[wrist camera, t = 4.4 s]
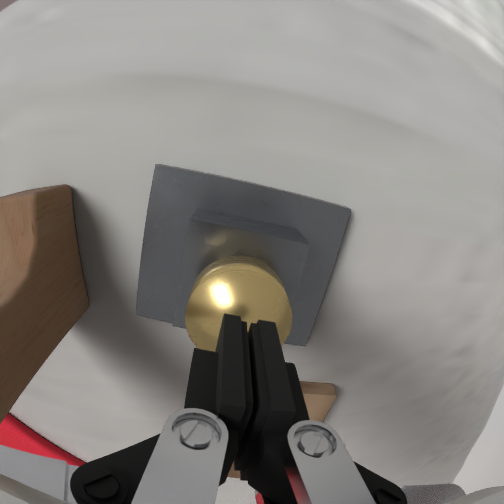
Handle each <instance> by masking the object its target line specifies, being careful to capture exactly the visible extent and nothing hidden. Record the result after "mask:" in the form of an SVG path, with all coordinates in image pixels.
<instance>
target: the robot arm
mask: <svg viewBox="0 0 504 504" xmlns="http://www.w3.org/2000/svg"><path fill="white" fill-rule="evenodd" d="M233 462H234V470H235V471H240V480H245V481H248V484H249V485H250V486H251V487H253V488H254V489H255V498H256V502H257V504H504V486H499V487H491V488H486V489H483V490H479V491H476V492H473V493H470V494H468V495H466V494H465V492H464V491H463V490H462V488H461V487H459V486H457V485H455V484H438V485H414V486H404V487H402V488H400V487H398V486H397V485H395V484H394V483H392V482H390V481H388V480H386V479H384V478H382V477H381V476H379V475H377V474H375V473H373V472H372V471H370V470H368V469H366V468H364V467H363V466H361V465H359V464H358V463H356V462H354V461H353V460H352V458H351V456H350V454H349V452H348V451H347V449H346V447H345V445H344V443H343V441H342V439H341V437H340V436H339V435H338V433H337V432H336V431H335V430H334V429H333V428H331V427H330V426H328V425H326V424H324V423H322V422H318V421H315V420H310V419H309V415H308V411H307V407H306V404H305V400H304V396H303V393H302V389H301V385H300V382H299V378H298V374H297V371H296V367H295V365H294V364H293V363H287V362H285V360H284V356H283V352H282V348H281V343H280V339H279V335H278V331H277V326H276V323H275V322H271V321H265V320H258V321H257V323H251V324H250V327H249V331H248V330H247V322H245V321H241V316H236V315H231V314H226V313H224V315H223V319H222V323H221V328H220V332H219V337H218V341H217V346H216V350H215V352H214V351H208V350H203V349H198V348H194V352H193V358H192V363H191V369H190V375H189V381H188V387H187V393H186V399H185V405H184V409H182V410H178V411H176V412H175V413H173V414H172V415H170V416H169V418H168V419H167V421H166V423H165V425H164V427H163V430H162V432H161V433H160V434H158V435H156V436H154V437H151V438H149V439H147V440H144V441H142V442H140V443H137V444H135V445H133V446H130V447H128V448H125V449H123V450H120V451H118V452H115V453H112V454H110V455H107V456H104V457H102V458H99V459H96V460H93V461H91V462H88V463H85V464H83V465H81V466H74V465H68V464H67V462H66V461H63V460H58V459H53V458H49V457H44V456H40V455H36V454H32V453H28V452H24V451H20V450H17V449H13V448H10V447H7V446H3V445H0V504H215V500H216V495H217V490H218V486H220V485H221V484H223V483H224V482H225V481H226V478H227V476H228V474H229V471H230V469H231V466H232V464H233Z"/></svg>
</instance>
